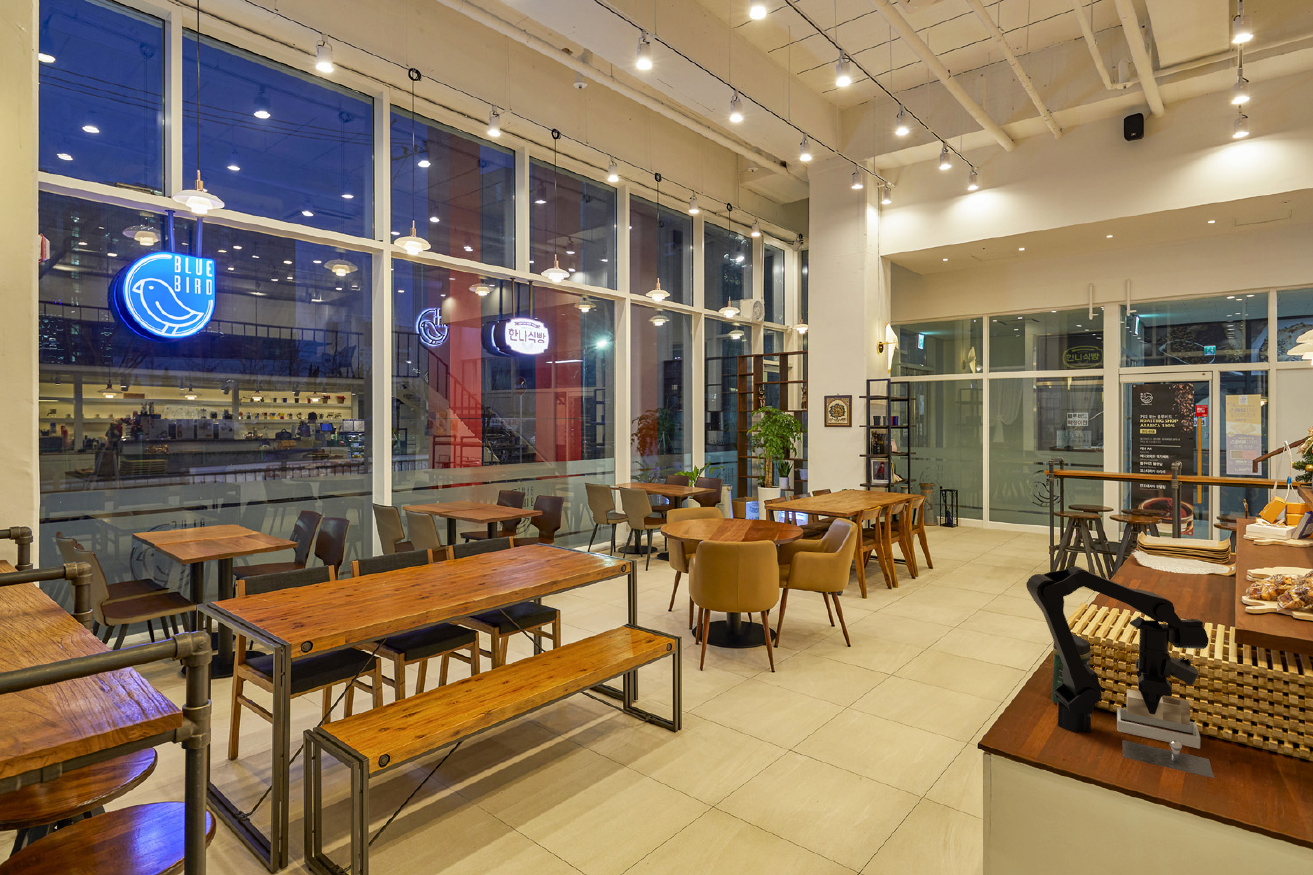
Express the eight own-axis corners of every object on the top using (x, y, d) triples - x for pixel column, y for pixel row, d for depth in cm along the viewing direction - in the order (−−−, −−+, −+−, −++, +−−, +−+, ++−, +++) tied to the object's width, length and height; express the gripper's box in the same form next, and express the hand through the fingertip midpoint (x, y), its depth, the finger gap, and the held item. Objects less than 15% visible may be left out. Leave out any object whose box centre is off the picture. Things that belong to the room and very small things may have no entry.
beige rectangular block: (1127, 712, 165) (1127, 696, 165) (1126, 704, 169) (1127, 689, 169) (1189, 725, 159) (1190, 708, 159) (1187, 716, 163) (1188, 700, 163)
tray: (1117, 734, 165) (1117, 720, 165) (1116, 720, 172) (1117, 707, 172) (1199, 752, 156) (1200, 737, 156) (1195, 736, 164) (1196, 722, 164)
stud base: (1122, 761, 153) (1123, 737, 153) (1121, 744, 161) (1122, 721, 160) (1214, 782, 144) (1215, 757, 144) (1208, 763, 152) (1209, 739, 152)
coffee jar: (1080, 714, 176) (1081, 643, 175) (1047, 703, 182) (1048, 635, 181) (1094, 703, 182) (1096, 635, 181) (1062, 693, 188) (1063, 627, 187)
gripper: (1201, 666, 152) (1198, 734, 152) (1192, 640, 167) (1189, 703, 168) (1139, 656, 158) (1137, 721, 159) (1136, 632, 173) (1134, 692, 174)
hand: (1151, 709), depth 165 cm, fingers closed on beige rectangular block, 5 cm apart
